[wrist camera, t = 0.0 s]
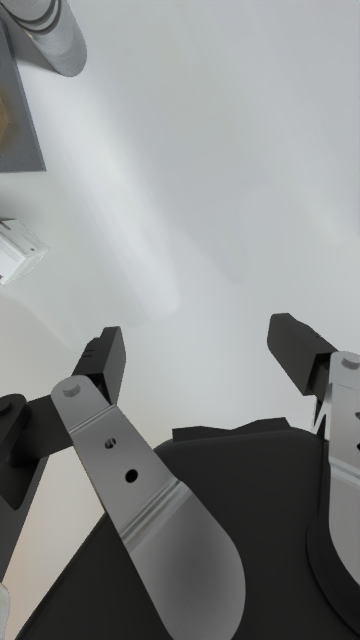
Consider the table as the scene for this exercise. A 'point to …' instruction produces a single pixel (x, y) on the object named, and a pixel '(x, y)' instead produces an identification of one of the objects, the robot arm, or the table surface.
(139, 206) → the table surface
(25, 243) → the skincare box
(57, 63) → the piston
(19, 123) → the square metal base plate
